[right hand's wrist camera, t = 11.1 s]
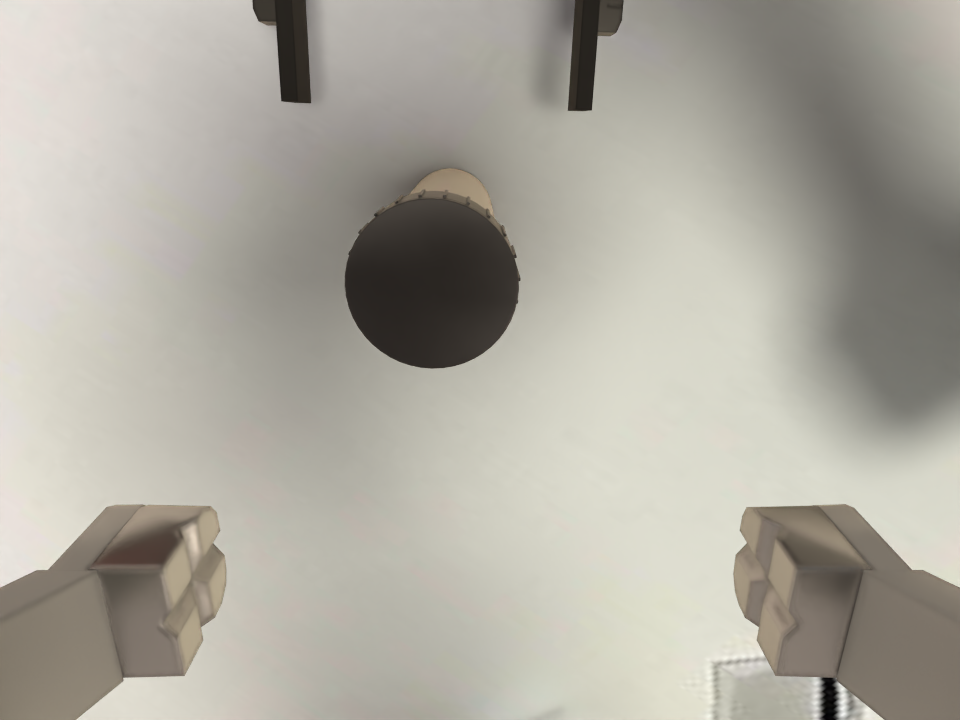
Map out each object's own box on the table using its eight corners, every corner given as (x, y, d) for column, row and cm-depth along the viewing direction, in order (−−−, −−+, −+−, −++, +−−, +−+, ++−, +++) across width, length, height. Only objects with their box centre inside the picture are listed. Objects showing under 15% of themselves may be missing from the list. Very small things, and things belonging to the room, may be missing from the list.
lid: (362, 175, 23) (350, 181, 21) (529, 202, 23) (535, 211, 21) (347, 335, 25) (334, 357, 23) (501, 357, 25) (504, 381, 23)
